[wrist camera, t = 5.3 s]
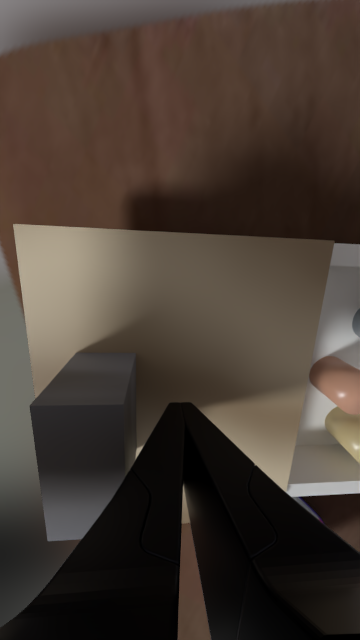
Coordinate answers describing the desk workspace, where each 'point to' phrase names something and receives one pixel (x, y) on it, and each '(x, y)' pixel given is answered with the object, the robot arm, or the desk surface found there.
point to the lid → (161, 349)
